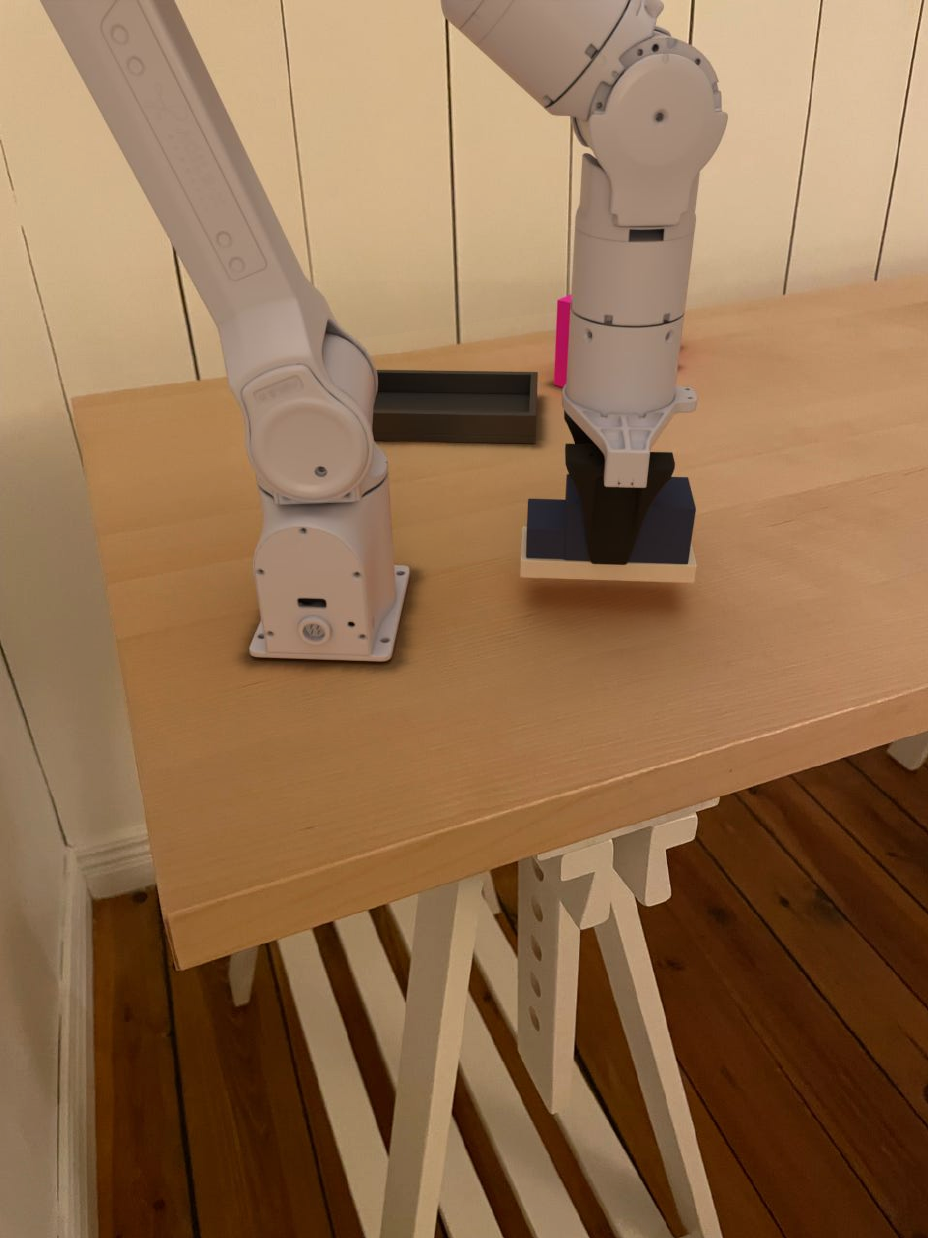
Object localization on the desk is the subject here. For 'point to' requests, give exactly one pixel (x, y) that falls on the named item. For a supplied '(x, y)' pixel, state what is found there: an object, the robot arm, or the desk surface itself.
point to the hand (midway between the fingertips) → (606, 542)
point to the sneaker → (656, 557)
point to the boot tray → (455, 406)
